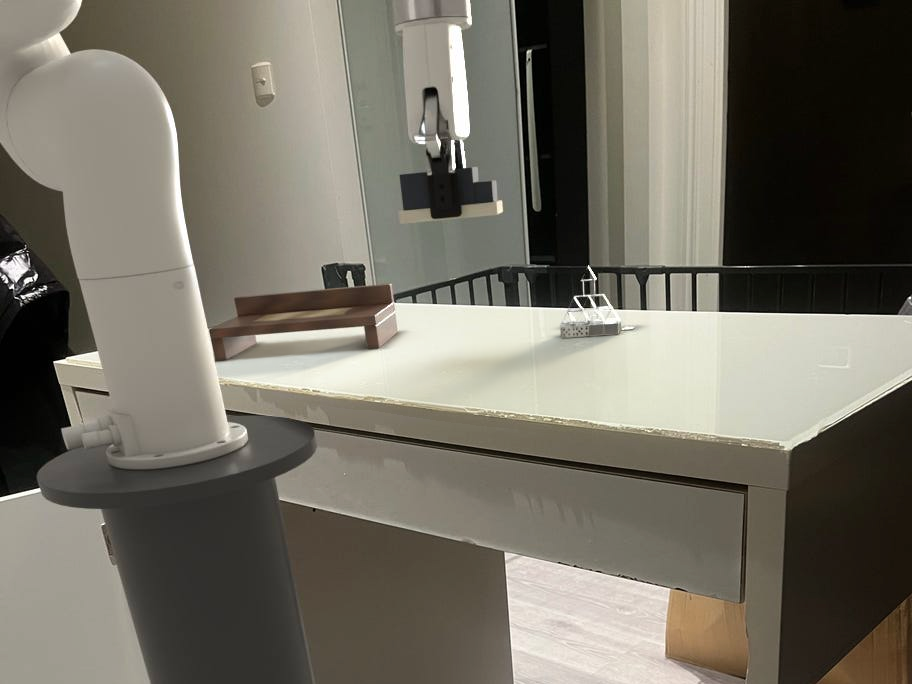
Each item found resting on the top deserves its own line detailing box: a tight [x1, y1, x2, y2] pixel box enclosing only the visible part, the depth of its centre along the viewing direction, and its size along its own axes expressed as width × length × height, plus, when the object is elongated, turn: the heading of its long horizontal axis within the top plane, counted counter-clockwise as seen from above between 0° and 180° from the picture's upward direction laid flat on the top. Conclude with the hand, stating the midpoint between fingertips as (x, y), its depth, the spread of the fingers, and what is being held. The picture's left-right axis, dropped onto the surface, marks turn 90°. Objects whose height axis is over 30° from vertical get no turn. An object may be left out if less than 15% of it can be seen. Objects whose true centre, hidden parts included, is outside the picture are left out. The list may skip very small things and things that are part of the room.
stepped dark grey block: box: [397, 166, 504, 225], centre depth 100 cm, size 10×5×5 cm, turn 82°
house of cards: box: [559, 265, 635, 339], centre depth 116 cm, size 9×9×8 cm
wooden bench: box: [208, 283, 399, 362], centre depth 126 cm, size 22×12×6 cm, turn 83°
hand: (451, 214), depth 101 cm, fingers closed on stepped dark grey block, 4 cm apart
